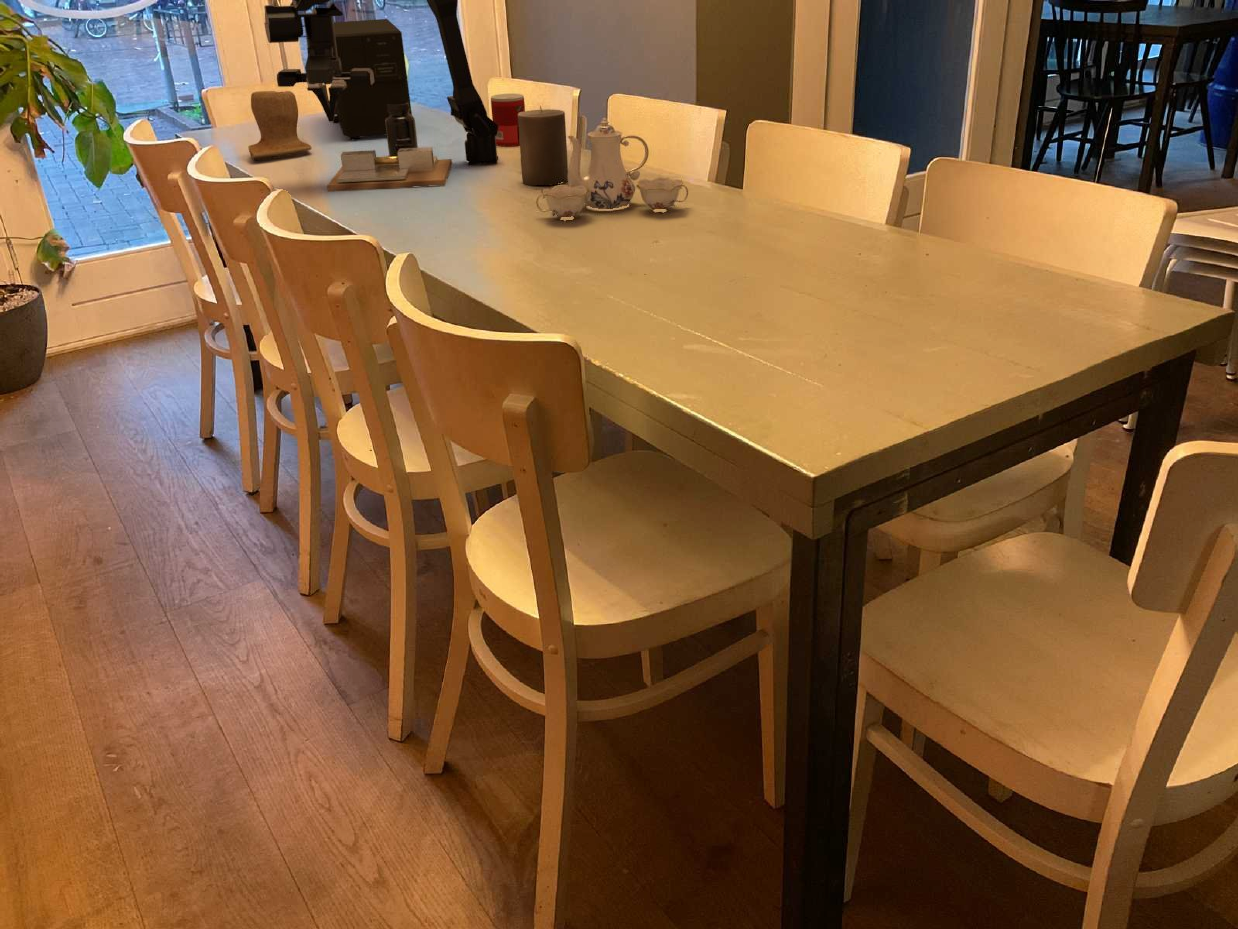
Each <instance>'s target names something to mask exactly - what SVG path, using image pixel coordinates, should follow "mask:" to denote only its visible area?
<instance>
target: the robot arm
mask: <svg viewBox="0 0 1238 929" xmlns="http://www.w3.org/2000/svg"><path fill="white" fill-rule="evenodd" d="M330 1H331V0H292V1H291V3H290V4H289V5H273V4H269V5H268V4H267V5H264V6H263V7H264V31H265V34H266V39H267V41H268V43H269V44H276V43H278V44H279V43H296V42H297V43H298V42H299V39H300V38H302V37H303V36H304V31H305V38H306V39H305V40H306V46H307V48H306V49H307V50H306V51H307V59H306V62H305V66H304V71H305V72H302V71H301V68H283V69H281V70H280V71H278V72H277V73H276V82H277V87H278V88H279V87H280V88H283V87H284V88H285V87H287V88H290V87H291V88H293V87H294V86H296V84H299V83H306V84H307V87H306V89H307V92H308V91H309V92H312V93H313V94H314V95H315V96H316V97H317V99H318V101H319V102H320V105H321V107H322V110H323V111H324V113H325V115H326V117H327V119H328V121H329V122H331V123H333V121H334V118H335V116H336V115H335V113H336V108H337V103H338V99H339V96H340V93H341V90H344V89H345V88H346V87H347V84H346V82H352V83H353V84H354V85H355V86H369V85H372V84H373V83H374V74H373V71H372V70H371V69H370V68H353V69H352V70H351V71H350V72H343V73H342V65H341V61H340V58H339V57H338V55H337V46H336V38H335V30H334V22H335V21H334V17H342V16H343V15H344V13H343V11H341V10H340V9H339V8H338V7H337V5H335V3H333V2H330ZM328 2H329V4H328V6H322V5H324V4H327V3H328ZM426 2H427V5H428V7H429V8H430V10H431V12H432V13H433V15H434V18H435V20H436V24H437V27H438V31H439V34H440V39H441V42H442V47H443V51H444V54H445V59H446V62H447V67H448V71H449V74H450V79H451V83H452V96H447V97H446V100H447V101H448V104H449V107H450V116H451V117H454V119H455V121H456V122H457V123H458V124H460V125H461V126H462V127H463V129H464V132H466V139H465V141H464V150H465V158H466V162H467V165H468V166H473V165H474V166H475V165H476V166H478V165H493V164H495V165H496V164H498V162H499V155H498V151H497V150H498V148H497V147H498V146H497V145H496V135H497V132H498V127H499V126H498V125H497V124H496V123H495V122H493V120H492V118H490V117H489V116H488V113H487V110H486V107H485V105H484V102H483V100H482V97H481V96H480V94H479V92H478V90H477V88H476V86H475V85H474V82H473V77H472V74H471V70H470V65H469V62H468V58H467V57H468V56H467V53H466V50H465V49H466V48H465V44H464V41H463V36H462V32H461V29H460V25H459V20H458V2H459V1H458V0H426ZM315 5H316V6H318V7H315ZM320 5H321V6H322V7H321V6H320ZM319 6H320V7H319ZM312 8H313V9H312ZM311 9H312V12H307V11H309V10H311ZM299 12H304V13H299ZM302 19H303V20H302ZM303 23H304V24H303ZM303 25H304V27H303ZM327 85H330V86H329V87H328V89H327ZM329 100H330V103H329Z"/></svg>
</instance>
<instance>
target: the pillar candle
mask: <svg viewBox="0 0 1238 929" xmlns="http://www.w3.org/2000/svg"><path fill="white" fill-rule="evenodd" d="M518 124H519V140H520V146H519V151H520V153H519V154H520V166H521V180H522V183H523V184H525V185H530V186H534V185H549V186H556V185H555V184H558V183H561V182H565V183H568V169H569V165H568V163H569V162H568V147H567V129H566V113H565V111H564V110H561V109H556V108H555V109H551V108H550V109H549V108H548V109H542V106H539V109H533V110H525V111H524V112H519V113H518ZM558 185H559V184H558Z"/></svg>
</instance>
